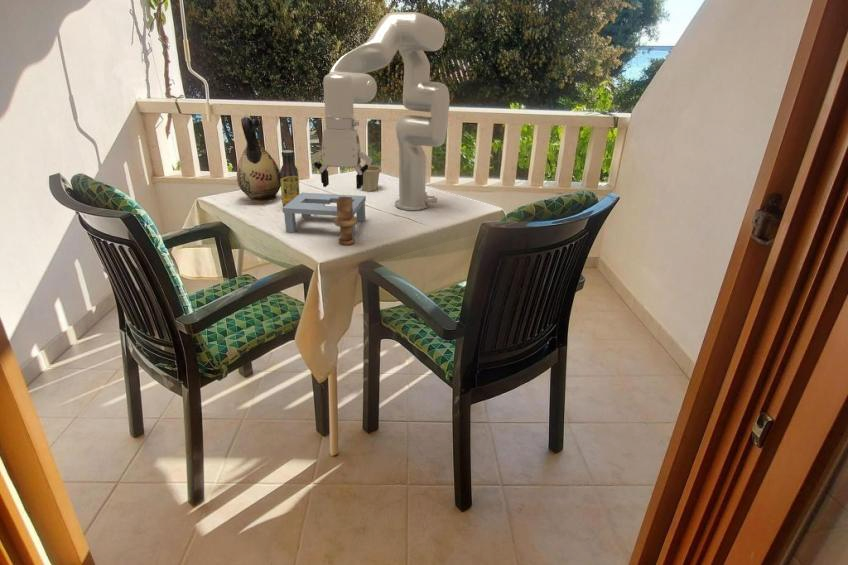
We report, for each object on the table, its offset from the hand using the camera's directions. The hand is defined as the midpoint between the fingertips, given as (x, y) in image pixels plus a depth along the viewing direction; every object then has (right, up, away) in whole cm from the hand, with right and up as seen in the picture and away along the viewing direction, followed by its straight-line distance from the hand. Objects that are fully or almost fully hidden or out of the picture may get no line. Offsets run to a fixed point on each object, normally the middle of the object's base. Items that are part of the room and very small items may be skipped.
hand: (342, 186), depth 139 cm
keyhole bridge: (-8, -9, +21) cm, 24 cm away
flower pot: (+1, +10, +59) cm, 60 cm away
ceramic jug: (-37, +3, +44) cm, 57 cm away
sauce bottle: (-24, 0, +37) cm, 44 cm away
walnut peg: (0, -15, +8) cm, 17 cm away
